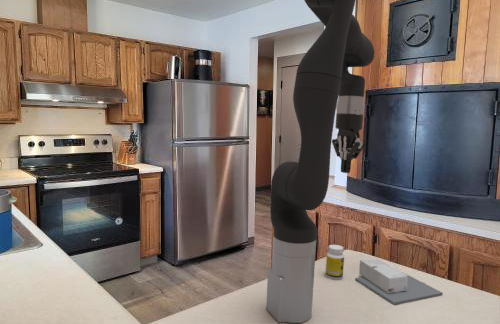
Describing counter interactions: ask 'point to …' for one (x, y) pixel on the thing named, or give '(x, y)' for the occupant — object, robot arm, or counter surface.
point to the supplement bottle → (335, 262)
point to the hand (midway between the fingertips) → (345, 172)
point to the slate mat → (413, 293)
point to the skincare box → (383, 275)
